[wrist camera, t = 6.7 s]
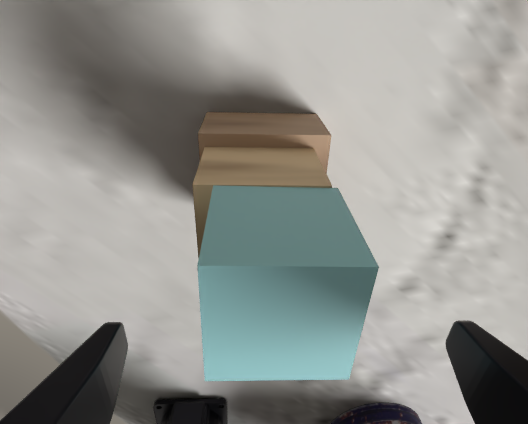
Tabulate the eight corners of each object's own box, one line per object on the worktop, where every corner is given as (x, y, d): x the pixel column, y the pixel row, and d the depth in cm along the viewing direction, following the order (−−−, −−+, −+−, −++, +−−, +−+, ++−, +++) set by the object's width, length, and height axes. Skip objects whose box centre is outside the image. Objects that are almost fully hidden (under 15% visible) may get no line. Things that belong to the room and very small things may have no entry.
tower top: (304, 238, 18) (317, 290, 15) (210, 238, 18) (201, 291, 15) (313, 148, 16) (332, 185, 13) (204, 146, 16) (192, 184, 12)
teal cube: (321, 283, 15) (349, 379, 11) (216, 282, 15) (205, 380, 11) (337, 188, 13) (378, 267, 9) (213, 185, 12) (197, 265, 8)
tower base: (306, 207, 22) (317, 243, 19) (212, 207, 22) (205, 244, 18) (316, 112, 19) (331, 135, 16) (207, 111, 19) (197, 133, 15)
